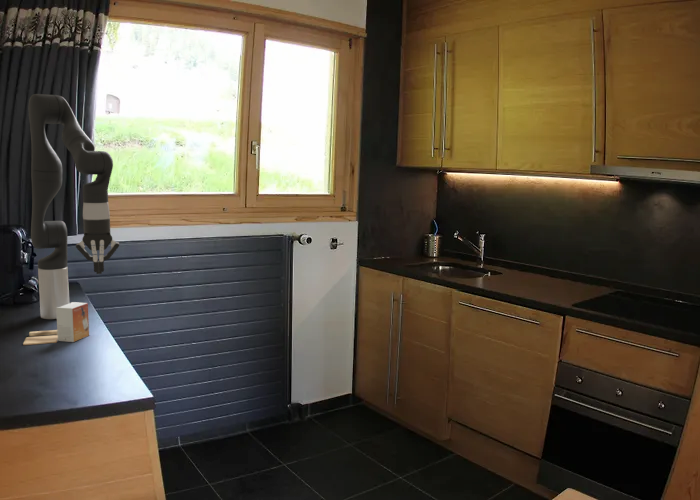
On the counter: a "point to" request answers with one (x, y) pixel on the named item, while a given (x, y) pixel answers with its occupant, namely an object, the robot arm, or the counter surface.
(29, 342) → the plate
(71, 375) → the counter surface
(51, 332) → the turner
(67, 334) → the small box
